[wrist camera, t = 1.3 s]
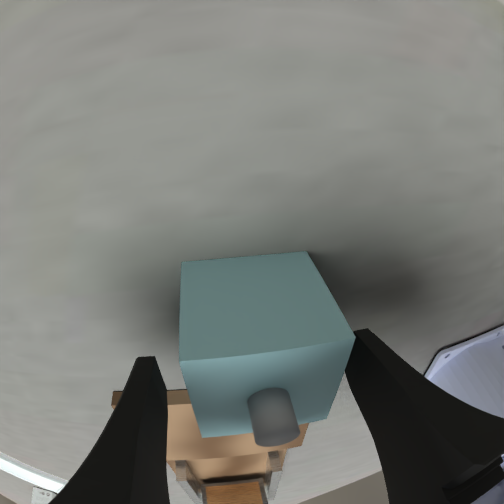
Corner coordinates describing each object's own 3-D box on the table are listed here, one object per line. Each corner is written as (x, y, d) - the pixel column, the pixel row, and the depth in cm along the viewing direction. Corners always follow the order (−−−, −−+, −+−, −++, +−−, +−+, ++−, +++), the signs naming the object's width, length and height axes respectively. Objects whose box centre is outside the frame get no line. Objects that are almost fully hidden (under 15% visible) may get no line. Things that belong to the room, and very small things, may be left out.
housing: (305, 250, 13) (376, 376, 7) (295, 335, 15) (337, 448, 10) (181, 260, 12) (179, 408, 6) (195, 347, 15) (205, 470, 9)
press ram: (262, 476, 24) (270, 511, 20) (261, 487, 26) (268, 518, 23) (199, 482, 23) (204, 518, 19) (206, 492, 25) (210, 524, 22)
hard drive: (-14, 462, 22) (62, 495, 27) (-17, 450, 19) (72, 489, 24) (-12, 453, 23) (63, 486, 28) (-14, 439, 20) (73, 478, 26)
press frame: (315, 373, 17) (328, 408, 15) (285, 478, 28) (289, 496, 26) (113, 391, 16) (108, 428, 13) (181, 488, 27) (183, 507, 25)
